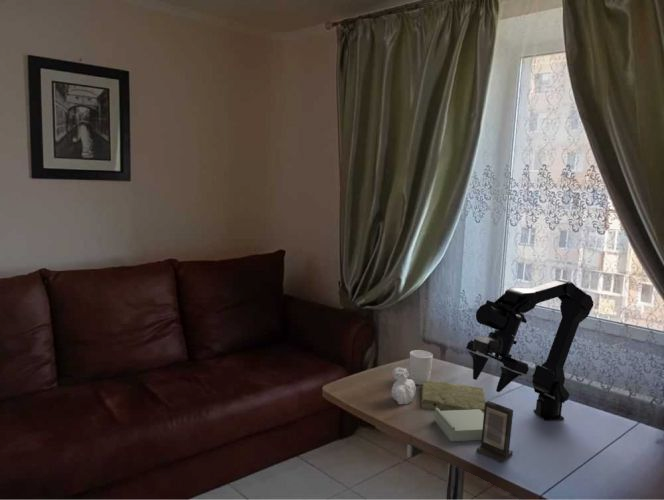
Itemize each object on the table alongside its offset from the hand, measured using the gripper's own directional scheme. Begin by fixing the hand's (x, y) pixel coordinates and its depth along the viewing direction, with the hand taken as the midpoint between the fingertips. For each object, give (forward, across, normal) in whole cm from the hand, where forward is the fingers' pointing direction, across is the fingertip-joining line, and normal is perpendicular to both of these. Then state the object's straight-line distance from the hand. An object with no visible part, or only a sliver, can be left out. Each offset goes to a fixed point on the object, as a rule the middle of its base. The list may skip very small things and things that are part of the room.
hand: (485, 385), depth 147 cm
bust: (+16, -26, -4) cm, 31 cm away
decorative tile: (+12, -19, +10) cm, 24 cm away
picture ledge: (+14, -2, +1) cm, 14 cm away
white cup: (+11, -36, +9) cm, 39 cm away
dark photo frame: (+15, +11, 0) cm, 18 cm away
